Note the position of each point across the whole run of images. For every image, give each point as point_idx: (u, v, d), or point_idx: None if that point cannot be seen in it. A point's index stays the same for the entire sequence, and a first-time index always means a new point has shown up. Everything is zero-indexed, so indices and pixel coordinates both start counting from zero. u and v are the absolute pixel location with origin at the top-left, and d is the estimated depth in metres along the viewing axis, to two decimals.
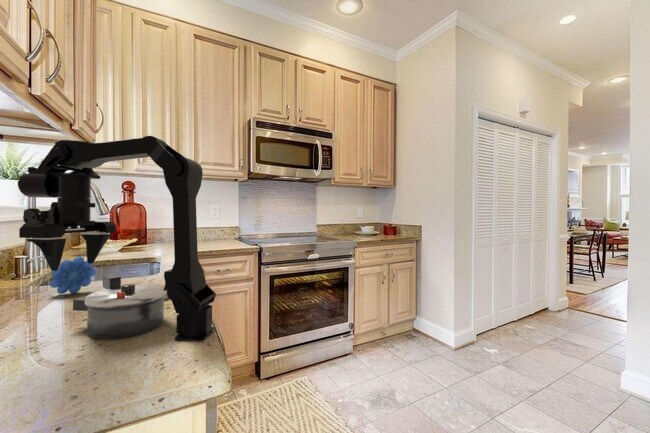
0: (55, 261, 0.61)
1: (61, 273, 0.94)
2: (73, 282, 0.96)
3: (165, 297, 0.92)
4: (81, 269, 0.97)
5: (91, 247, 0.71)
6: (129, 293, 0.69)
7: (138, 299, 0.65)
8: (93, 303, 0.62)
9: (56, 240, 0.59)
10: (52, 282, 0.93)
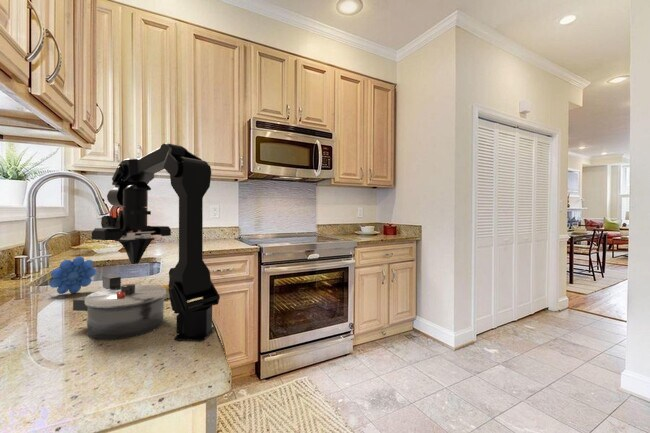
0: (132, 256, 0.79)
1: (61, 273, 0.94)
2: (73, 282, 0.96)
3: (165, 297, 0.92)
4: (81, 269, 0.97)
5: None
6: (129, 293, 0.69)
7: (138, 299, 0.65)
8: (93, 303, 0.62)
9: (131, 240, 0.77)
10: (52, 282, 0.93)
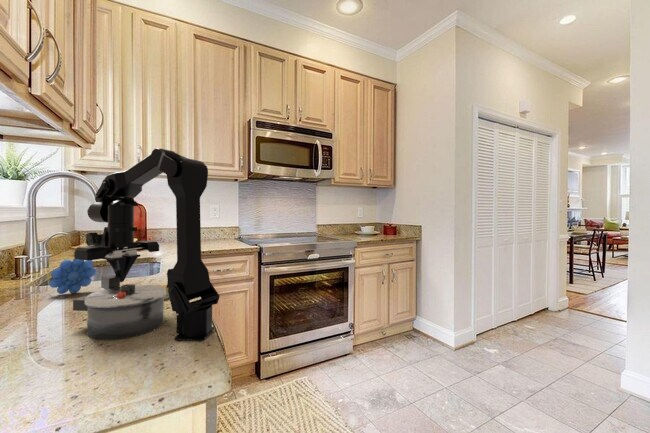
0: (120, 274, 0.77)
1: (61, 273, 0.94)
2: (73, 282, 0.96)
3: (165, 297, 0.92)
4: (81, 269, 0.97)
5: None
6: (129, 293, 0.69)
7: (139, 299, 0.65)
8: (94, 303, 0.62)
9: (117, 259, 0.74)
10: (52, 282, 0.93)
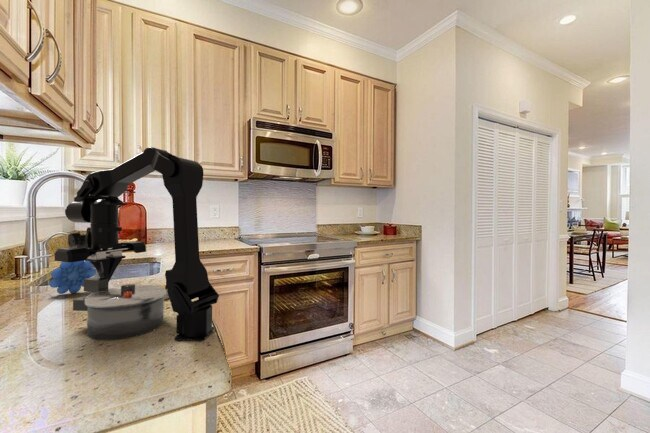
0: (104, 276, 0.74)
1: (61, 273, 0.94)
2: (73, 282, 0.96)
3: (165, 297, 0.92)
4: (81, 269, 0.97)
5: None
6: (131, 293, 0.69)
7: (149, 296, 0.67)
8: (104, 304, 0.62)
9: (101, 260, 0.71)
10: (52, 282, 0.93)
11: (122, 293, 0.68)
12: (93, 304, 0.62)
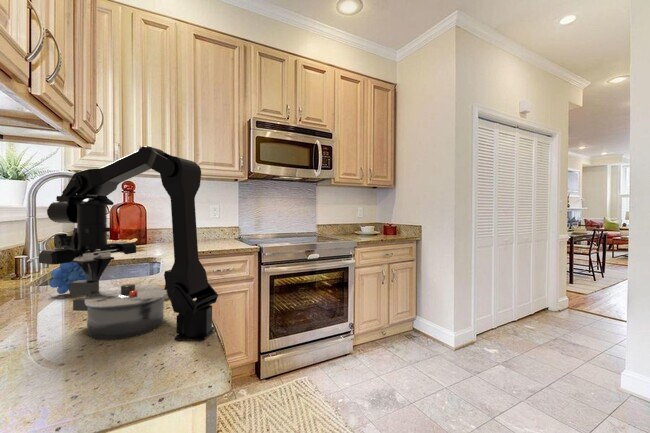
0: (92, 279, 0.71)
1: (61, 273, 0.94)
2: None
3: (165, 297, 0.92)
4: (81, 269, 0.97)
5: None
6: None
7: (156, 294, 0.69)
8: (116, 303, 0.62)
9: (88, 262, 0.69)
10: (52, 282, 0.93)
11: (123, 293, 0.68)
12: (102, 305, 0.62)
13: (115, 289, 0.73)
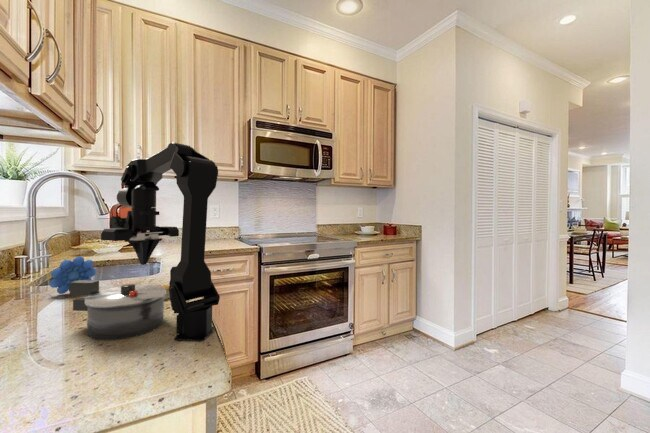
0: (142, 257, 0.79)
1: (61, 273, 0.94)
2: None
3: (165, 297, 0.92)
4: (81, 269, 0.97)
5: None
6: None
7: (156, 294, 0.69)
8: (116, 303, 0.62)
9: (141, 241, 0.76)
10: (52, 282, 0.93)
11: (123, 293, 0.68)
12: (102, 305, 0.62)
13: (115, 289, 0.73)
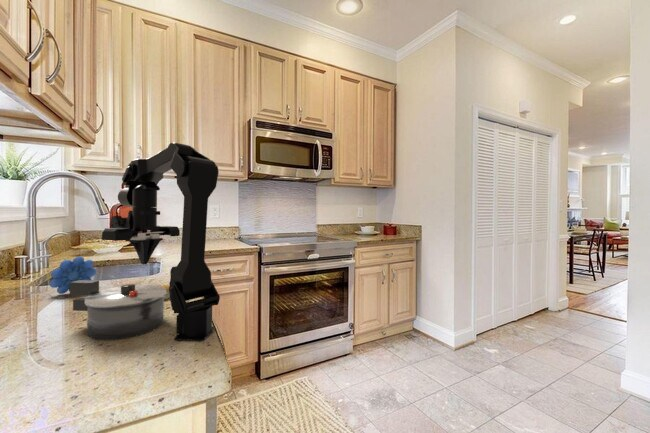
0: (143, 257, 0.79)
1: (61, 273, 0.94)
2: None
3: (165, 297, 0.92)
4: (81, 269, 0.97)
5: None
6: None
7: (156, 294, 0.69)
8: (116, 303, 0.62)
9: (142, 241, 0.76)
10: (52, 282, 0.93)
11: (123, 293, 0.68)
12: (102, 305, 0.62)
13: (115, 289, 0.73)
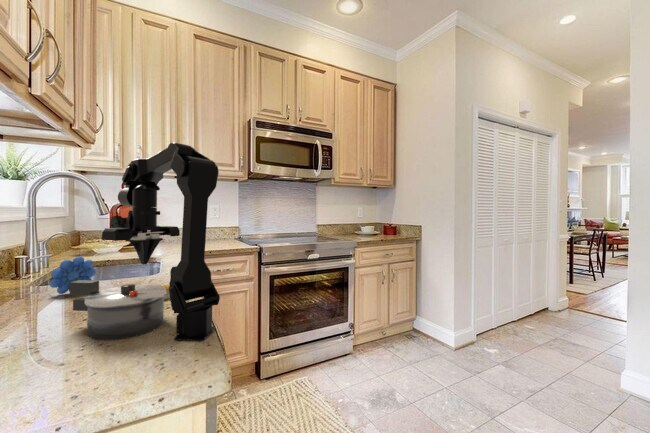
0: (143, 257, 0.79)
1: (61, 273, 0.94)
2: None
3: (166, 297, 0.92)
4: (81, 269, 0.97)
5: None
6: None
7: (156, 294, 0.69)
8: (116, 303, 0.62)
9: (142, 241, 0.76)
10: (52, 282, 0.93)
11: (123, 293, 0.68)
12: (102, 305, 0.62)
13: (115, 289, 0.73)
